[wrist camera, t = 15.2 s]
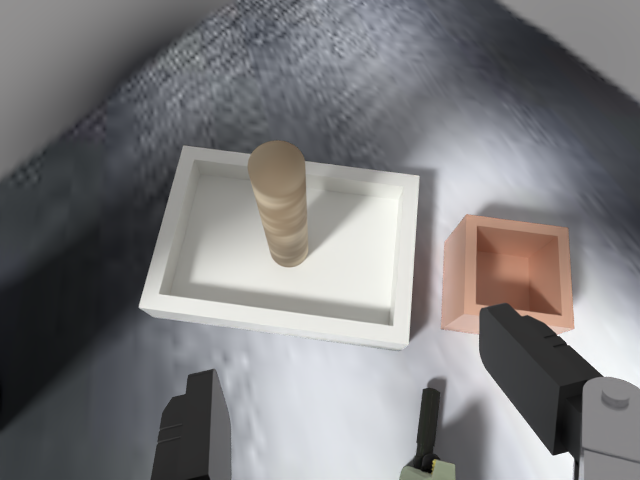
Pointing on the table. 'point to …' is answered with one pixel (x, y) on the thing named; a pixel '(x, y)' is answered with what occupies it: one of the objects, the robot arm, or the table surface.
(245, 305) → the tray
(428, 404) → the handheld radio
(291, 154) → the dowel pin
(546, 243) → the pot
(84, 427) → the table surface
